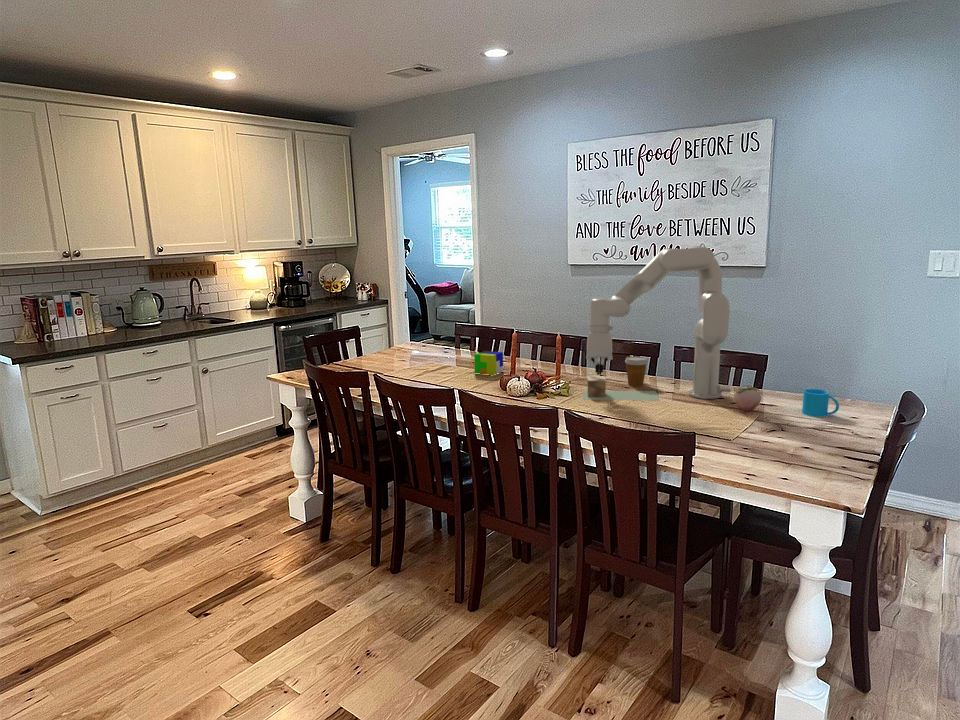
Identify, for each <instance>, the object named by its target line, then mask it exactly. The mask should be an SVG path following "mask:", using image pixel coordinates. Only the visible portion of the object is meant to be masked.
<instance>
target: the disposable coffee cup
mask: <svg viewBox="0 0 960 720" xmlns="http://www.w3.org/2000/svg"><path fill="white" fill-rule="evenodd" d="M624 362H625V366H626V368H625V369H626V375H627V385H628V386H631V387H642V386H644V381H645V375H646V369H647V365H648V362H649V361H648V360H647V357H644V356H627V357H626V358H625V360H624Z"/></svg>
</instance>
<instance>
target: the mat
mask: <svg viewBox="0 0 960 720" xmlns="http://www.w3.org/2000/svg"><path fill="white" fill-rule="evenodd" d="M587 391H588V389H586V390H582V400H584V401H585V400H586V401H587V400H588V401H589V400H590V401H593V400H595V401H649V402H650V401H651V402H652V401H655V402H657V401H659V402H660V401H661V399H660V397H659V395H658V393H657V391H656V390H606V392H605V397H588V393H587Z"/></svg>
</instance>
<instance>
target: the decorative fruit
mask: <svg viewBox="0 0 960 720" xmlns="http://www.w3.org/2000/svg"><path fill="white" fill-rule="evenodd" d="M759 391H761V390H760V389H759V388H757V387H752V386H751V387H749V385H747V387H744V388H739V389H738V390H737V391H736V392H735V394H734V398H733V399H734V403H735V405H736V406H737V408H739V409H740V410H742V411H744V412H745V413H746V412H747V413H748V412H751V411H753V410H754V409H756V408H757V407H758V406H759V405H760V403H761V400H762V396H761V394H760V392H759Z"/></svg>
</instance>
